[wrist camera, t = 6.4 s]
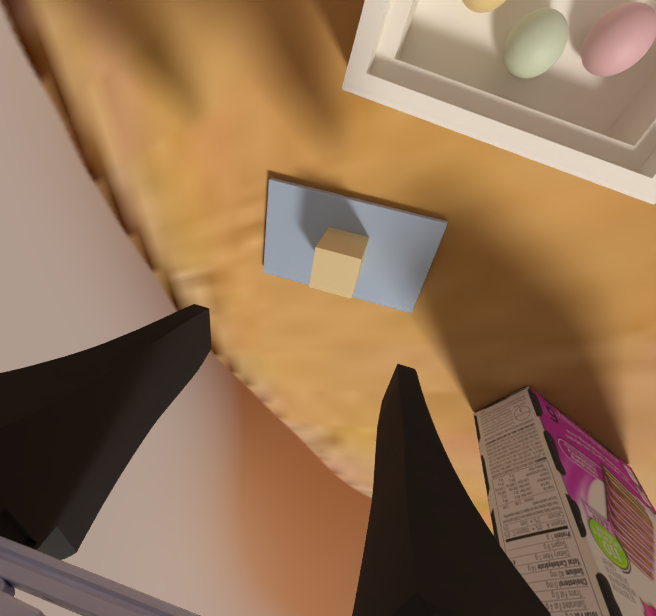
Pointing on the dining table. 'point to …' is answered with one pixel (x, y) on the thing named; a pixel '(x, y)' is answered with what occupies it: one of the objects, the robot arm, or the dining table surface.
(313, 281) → the lid
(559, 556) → the candy bar box
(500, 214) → the dining table surface
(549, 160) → the box
